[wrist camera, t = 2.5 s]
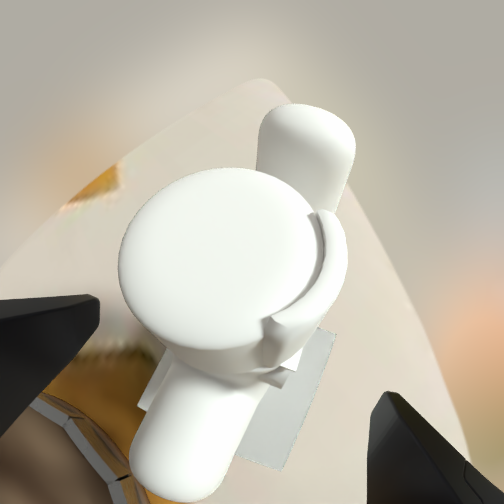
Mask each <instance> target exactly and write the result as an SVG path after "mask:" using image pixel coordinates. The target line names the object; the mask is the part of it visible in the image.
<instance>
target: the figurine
mask: <svg viewBox="0 0 504 504" xmlns="http://www.w3.org/2000/svg"><path fill="white" fill-rule="evenodd" d="M355 147H356V144H355V139H354V136H353V133H352V131H351V130H350V128H349V127H348V125H346V123H345V122H344V121H342V120H341V119H340V118H338V117H337V116H335V115H334V114H332V113H330V112H328V111H325V110H323V109H320V108H317V107H313V106H309V105H303V104H286V105H282V106H278V107H276V108H274V109H272V110H271V111H270V112H269V113H268V114H267V115H266V116H265V117H264V119H263V121H262V123H261V126H260V129H259V135H258V148H257V162H256V171H254V170H250V169H244V168H215V169H210V170H204V171H200V172H197V173H194V174H190V175H187V176H185V177H183V178H181V179H178V180H176V181H174V182H172V183H171V184H169V185H167V186H166V187H164V188H163V189H161V190H160V191H158V192H157V193H156V194H155V195H154V196H152V197H151V198H150V199H149V200H148V201H147V202H146V203H145V204H144V205H143V206H142V207H141V209H140V210H139V211H138V212H137V213H136V215H135V216H134V218H133V219H132V221H131V222H130V224H129V226H128V228H127V230H126V232H125V235H124V237H123V239H122V243H121V247H120V251H119V257H118V276H119V284H120V288H121V290H122V293H123V296H124V299H125V302H126V303H127V305H128V307H129V308H130V310H131V312H132V313H133V315H134V316H135V317H136V318H137V319H138V320H139V321H140V322H141V323H142V325H143V326H144V327H145V328H146V329H147V330H148V331H149V332H151V333H152V334H153V335H154V336H155V337H156V338H157V339H158V340H159V341H160V342H161V343H162V344H163V345H165V346H166V347H167V349H166V351H165V353H164V355H163V357H162V358H161V360H160V362H159V364H158V366H157V368H156V370H155V372H154V374H153V376H152V378H151V379H150V381H149V383H148V385H147V387H146V389H145V391H144V393H143V395H142V397H141V399H140V401H139V403H138V405H137V406H138V407H139V408H141V409H143V410H145V411H146V412H147V413H146V415H145V417H144V419H143V421H142V423H141V425H140V427H139V429H138V430H137V432H136V434H135V437H134V439H133V441H132V444H131V447H130V451H129V465H130V468H131V471H132V473H133V475H134V477H135V478H136V479H137V481H138V482H139V483H140V484H141V485H142V486H143V487H145V488H146V489H147V490H149V491H150V492H152V493H153V494H155V495H157V496H159V497H162V498H164V499H167V500H170V501H175V502H185V503H190V502H195V501H199V500H202V499H204V498H206V497H208V496H209V495H210V494H212V493H213V492H214V491H215V490H216V489H217V488H218V487H219V485H220V484H221V482H222V480H223V478H224V477H225V474H226V472H227V470H228V467H229V465H230V463H231V461H232V458H233V456H234V454H235V455H237V456H240V457H242V458H245V459H247V460H250V461H253V462H255V463H258V464H261V465H263V466H266V467H269V468H272V469H275V470H278V471H282V469H283V467H284V465H285V463H286V461H287V459H288V456H289V454H290V452H291V450H292V448H293V445H294V443H295V441H296V439H297V436H298V434H299V432H300V429H301V427H302V425H303V422H304V420H305V418H306V415H307V413H308V410H309V408H310V405H311V403H312V400H313V398H314V395H315V393H316V390H317V388H318V385H319V382H320V380H321V377H322V374H323V372H324V369H325V366H326V363H327V361H328V358H329V355H330V352H331V349H332V346H333V343H334V340H335V337H336V334H335V333H332V332H329V331H327V330H324V329H321V328H319V327H318V325H319V324H320V322H321V321H322V319H323V318H324V316H325V315H326V313H327V312H328V310H329V309H330V307H331V306H332V304H333V303H334V301H335V300H336V298H337V296H338V294H339V292H340V290H341V287H342V285H343V283H344V279H345V274H346V269H347V246H346V239H345V233H344V231H343V229H342V227H341V224H340V222H339V220H338V218H337V217H336V216H335V212H336V209H337V206H338V203H339V201H340V198H341V195H342V192H343V189H344V187H345V184H346V181H347V178H348V176H349V173H350V170H351V167H352V164H353V161H354V157H355V149H356V148H355Z"/></svg>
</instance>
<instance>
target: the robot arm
mask: <svg viewBox="0 0 504 504" xmlns="http://www.w3.org/2000/svg"><path fill="white" fill-rule="evenodd" d="M99 321H100V301H99V299H98V298H96V297H94V296H92V295H89V294H83V295H70V296H56V297H41V298H26V299H9V300H0V438H1V437H2V435H3V434H4V433H5V432H6V431H7V430H8V429H9V427H10V426H11V425H12V424H13V423H14V422H15V421H16V419H17V418H18V417H19V416H20V415H21V414H22V413H23V412H24V411H25V409H26V408H27V407H28V406H29V405H30V404H31V403H32V402H33V401H34V400H35V399H36V397H37V396H38V395H39V394H40V393H41V392H42V391H43V390H44V389H45V388H46V387H47V386H48V385H49V383H50V382H51V381H52V380H53V379H54V378H55V377H56V376H57V375H58V374H59V373H60V372H61V371H62V370H63V369H64V368H65V367H66V366H67V365H68V364H69V363H70V361H71V360H72V359H73V358H74V357H75V356H76V354H77V353H78V352H79V351H80V349H81V348H82V347H83V345H84V344H85V343H86V342H87V340H88V339H89V338H90V337H91V335H92V334H93V333H94V331H95V330H96V329H97V327H98V325H99ZM465 460H466V459H465V458H464V457H463V456H462V455H461V454H460V453H459V452H458V451H457V450H456V449H455V448H454V447H453V446H452V445H451V444H450V443H449V442H448V441H447V440H446V439H445V438H444V437H443V436H442V435H441V434H440V433H439V432H438V431H436V430H435V429H434V428H433V427H432V426H431V425H430V424H429V423H428V422H427V421H426V420H425V419H424V418H423V417H422V416H421V415H420V414H419V413H418V412H417V411H416V410H415V409H414V408H413V407H412V406H411V405H410V404H409V403H408V402H407V401H406V400H405V399H404V398H403V397H402V396H401V395H400V394H398V393H396V392H390V391H386V392H384V393H383V394H382V396H381V398H380V399H379V401H378V403H377V404H376V406H375V408H374V409H373V411H372V413H371V417H370V430H369V442H368V452H367V504H504V493H503V492H502V491H501V490H499V489H498V488H497V487H496V486H494V485H493V484H492V483H491V482H490V481H489V480H487V479H486V478H485V477H484V476H483V475H482V474H481V473H480V472H479V471H478V470H477V469H475V468H474V467H473V466H472V465H471V464H470V463H469V462H468V461H467V460H466V461H465Z"/></svg>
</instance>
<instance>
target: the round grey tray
mask: <svg viewBox="0 0 504 504" xmlns="http://www.w3.org/2000/svg"><path fill="white" fill-rule="evenodd" d="M29 406H30V407H31V408H33V409H34V410H36V411H37V412H39V413H41V414H42V415H44V416H45V417H47V418H48V419H50V420H52V421H53V422H55V423H57V424H58V425H60V426H62V427H63V428H64V429H65V431H66V432H67V433H68V435H69V436H70V438H71V439H72V440H73V442H74V443H75V445H76V446H77V447H78V449H79V450H80V451H81V453H82V454H83V455H84V456H85V458H86V459H87V460H88V462H89V463H90V464H91V465H92V467H93V468H94V469H95V470H96V471H97V473H98V474H99V475H100V476H101V477H102V478H103V480H104V481H105V482H106V483H107V485H108V488H109V492H110V495H111V498H112V500H113V503H114V504H142V502H141V499H140V496H139V493H138V490H137V487H136V484H135V481H134V478H133V475H131V476H128V475H129V474H130V473H131V472H130V471H129V470H128V469H127V468H126V467H125V465H124V464H123V463H122V462H121V461H120V460H119V459H118V458H117V456H116V455H115V454H114V453H113V452H112V450H111V449H110V448H109V447H108V446H107V444H106V443H105V442H104V441H103V439H102V438H101V437H100V436H99V434H98V433H97V432H96V431H95V429H94V428H93V427H92V425H91V424H90V423H89V421H88V420H86V419H85V417H83V416H81V415H79V414H77V413H75V412H73V411H71V410H70V409H68V408H66V407H64V406H62V405H61V404H59V403H57V402H55V401H54V400H52V399H50V398H49V397H47V396H45V395H44V394H42V393H40V394H39V395H38V396H37V397H36V399H35V400H34V401H33V402H32V403H31V404H30V405H29Z"/></svg>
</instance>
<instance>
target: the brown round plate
mask: <svg viewBox="0 0 504 504" xmlns="http://www.w3.org/2000/svg"><path fill="white" fill-rule="evenodd" d="M41 393H42V392H41ZM42 394H44V395H45V396H47V397H49V398H50V399H52V400H54V401H55V402H57V403H59V404H61V405H62V406H64V407H66V408H68V409H70V410H71V411H73V412H75V413H77V414H79V415H81V416H83V417H85V419H86V420H88V421H89V423H90V424H91V425H92V427H93V428H94V429H95V431H96V432H97V433H98V434H99V436H100V437H101V438H102V439H103V441H104V442H105V443H106V444H107V446H108V447H109V448H110V449H111V450H112V452H113V453H114V454H115V455H116V456H117V458H118V459H119V460H120V461H121V462H122V463H123V464H124V465H125V467H126V468H127V469H128V470H129V471H130V472H131V473H130V474H129V475H128V476H131V475H133V473H132V471H131V468H130V465H129V461H128V460H127V458H126V457H125V456H124V454H123V453H122V452H121V451H120V449H119V448H118V447H117V445H116V444H115V443H114V442H113V441H112V440H111V439H110V437H109V436H108V435H107V434H106V433H105V432H104V431H103V430H102V429H101V428H100V427H99V426H98V425H97V424H96V423H94V422H93V421H92V420H91V419H90V418H89V417H87V416H86V415H85V414H83V413H82V412H81V411H80V410H78V409H76V408H75V407H73V406H72V405H70V404H68V403H67V402H65V401H63V400H60V399H58V398H56V397H54V396H51V395H48V394H45V393H42ZM133 478H134V481H135V484H136V487H137V490H138V493H139V496H140V499H141V502H142V504H150V501H149V499H148V497H147V494H146V492H145V489H144V487H143V486H142V485H141V484H140V483H139V482H138V481H137V479H136V478H135V477H134V475H133ZM0 504H114V503H113V500H112V498H111V495H110V492H109V488H108V485H107V483H106V482H105V481H104V480H103V478H102V477H101V476H100V475H99V474H98V473H97V471H96V470H95V469H94V468H93V467H92V465H91V464H90V463H89V462H88V460H87V459H86V458H85V456H84V455H83V454H82V453H81V451H80V450H79V449H78V447H77V446H76V445H75V443H74V442H73V440H72V439H71V438H70V436H69V435H68V433H67V432H66V431H65V429H64V428H63V427H62V426H60V425H58V424H57V423H55V422H53V421H52V420H50V419H48V418H47V417H45V416H44V415H42V414H41V413H39V412H37V411H36V410H34V409H33V408H31V407H30V406H28V407H27V408H26V409H25V411H24V412H23V413H22V414H21V415H20V416H19V417H18V418H17V419H16V421H15V422H14V423H13V424H12V425H11V426H10V427H9V429H8V430H7V431H6V432H5V433H4V434H3V435H2V437H1V438H0Z"/></svg>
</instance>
